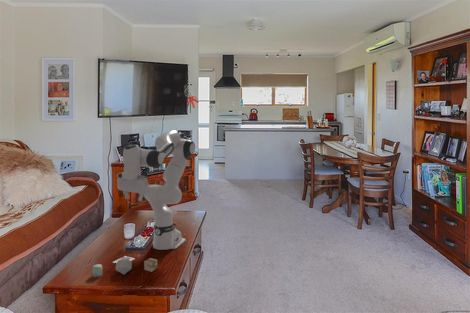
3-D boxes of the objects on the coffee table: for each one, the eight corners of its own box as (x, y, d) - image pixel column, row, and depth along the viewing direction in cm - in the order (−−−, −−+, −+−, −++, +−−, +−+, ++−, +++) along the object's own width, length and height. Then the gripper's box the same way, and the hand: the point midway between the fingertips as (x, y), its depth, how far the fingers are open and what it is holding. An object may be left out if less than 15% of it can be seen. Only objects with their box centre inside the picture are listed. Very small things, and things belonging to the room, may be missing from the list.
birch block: (150, 266, 215) (150, 257, 214) (157, 268, 212) (157, 259, 212) (144, 270, 210) (144, 261, 210) (151, 271, 208) (151, 263, 207)
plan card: (125, 256, 228) (125, 255, 228) (135, 259, 225) (135, 258, 225) (112, 262, 220) (112, 261, 220) (122, 265, 216) (122, 264, 216)
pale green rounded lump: (98, 272, 208) (97, 263, 207) (104, 274, 205) (104, 265, 205) (91, 276, 203) (90, 267, 203) (97, 277, 201) (96, 268, 200)
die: (135, 274, 207) (135, 256, 211) (124, 272, 200) (124, 253, 204) (123, 277, 209) (123, 259, 214) (112, 275, 202) (112, 257, 207)
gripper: (151, 175, 206) (152, 200, 208) (123, 172, 216) (124, 196, 218) (143, 177, 200) (144, 203, 202) (114, 174, 210) (115, 198, 212)
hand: (133, 199), depth 210 cm, fingers open, 8 cm apart
